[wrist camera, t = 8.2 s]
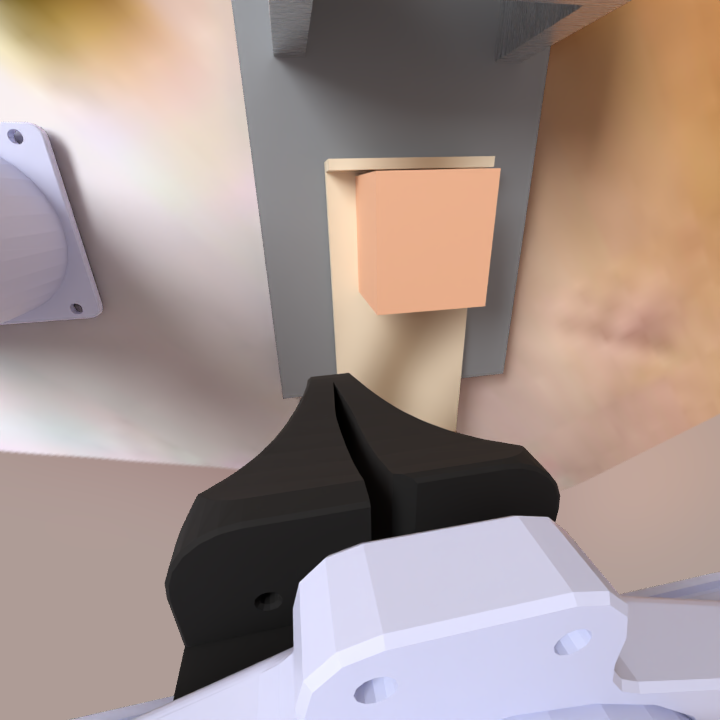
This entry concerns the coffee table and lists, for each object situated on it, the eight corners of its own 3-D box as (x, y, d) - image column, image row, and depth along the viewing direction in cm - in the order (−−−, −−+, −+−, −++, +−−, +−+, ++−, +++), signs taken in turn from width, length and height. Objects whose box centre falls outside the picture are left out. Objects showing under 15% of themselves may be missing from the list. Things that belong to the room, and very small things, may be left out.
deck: (283, 385, 22) (283, 398, 20) (183, -390, 11) (169, -478, 10) (489, 362, 24) (503, 373, 22) (575, -310, 13) (611, -373, 12)
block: (358, 291, 18) (377, 315, 14) (355, 176, 16) (375, 170, 12) (446, 285, 19) (485, 306, 15) (454, 174, 17) (500, 168, 13)
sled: (341, 456, 22) (354, 513, 18) (324, 162, 16) (337, 150, 12) (451, 440, 23) (486, 491, 19) (476, 159, 17) (535, 148, 13)
